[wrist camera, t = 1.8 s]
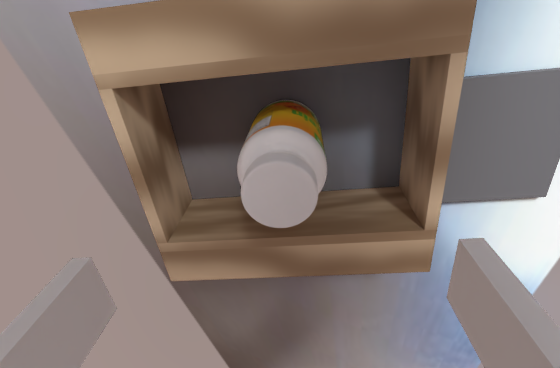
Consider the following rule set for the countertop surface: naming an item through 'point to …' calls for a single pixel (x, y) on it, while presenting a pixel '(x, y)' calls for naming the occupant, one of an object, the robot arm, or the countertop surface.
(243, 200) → the supplement bottle
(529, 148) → the mat
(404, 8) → the wooden frame
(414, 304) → the countertop surface
